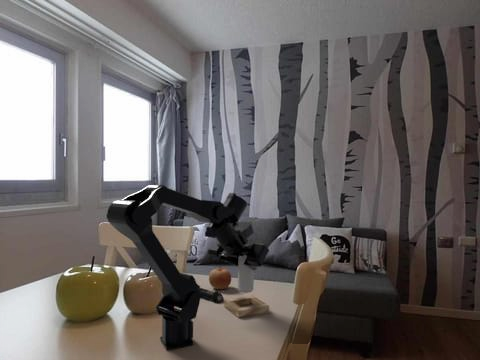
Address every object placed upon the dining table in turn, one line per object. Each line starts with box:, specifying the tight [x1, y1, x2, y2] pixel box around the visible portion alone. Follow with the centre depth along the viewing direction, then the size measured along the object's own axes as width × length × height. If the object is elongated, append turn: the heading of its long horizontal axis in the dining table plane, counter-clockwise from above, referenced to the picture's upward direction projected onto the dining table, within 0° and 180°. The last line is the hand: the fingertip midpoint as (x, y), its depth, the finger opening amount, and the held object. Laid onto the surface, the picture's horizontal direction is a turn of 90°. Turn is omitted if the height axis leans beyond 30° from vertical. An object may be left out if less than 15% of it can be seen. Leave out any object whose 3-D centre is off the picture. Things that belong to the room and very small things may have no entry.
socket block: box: [223, 295, 270, 319], centre depth 108 cm, size 10×10×2 cm
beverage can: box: [237, 255, 255, 294], centre depth 108 cm, size 5×5×12 cm
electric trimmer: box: [199, 287, 225, 304], centre depth 119 cm, size 4×16×3 cm, turn 51°
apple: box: [208, 265, 232, 290], centre depth 128 cm, size 8×8×8 cm
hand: (248, 267), depth 109 cm, fingers closed on beverage can, 5 cm apart
